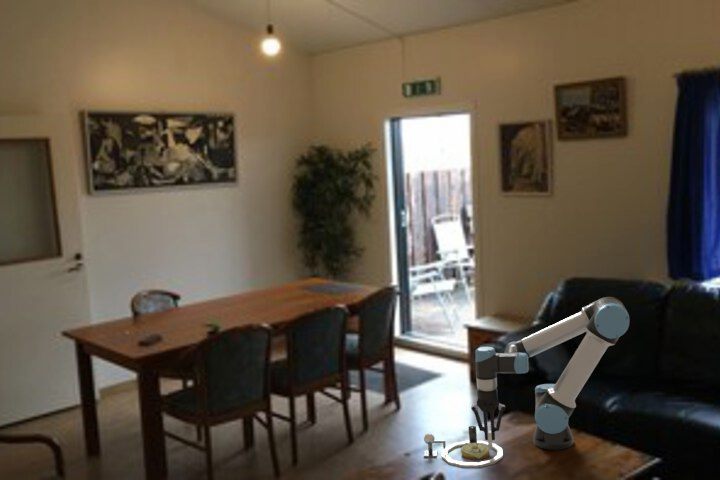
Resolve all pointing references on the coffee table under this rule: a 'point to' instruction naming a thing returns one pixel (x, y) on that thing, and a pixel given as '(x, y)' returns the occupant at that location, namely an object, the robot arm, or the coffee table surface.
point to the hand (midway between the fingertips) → (490, 448)
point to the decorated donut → (475, 451)
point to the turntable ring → (471, 440)
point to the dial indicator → (430, 440)
